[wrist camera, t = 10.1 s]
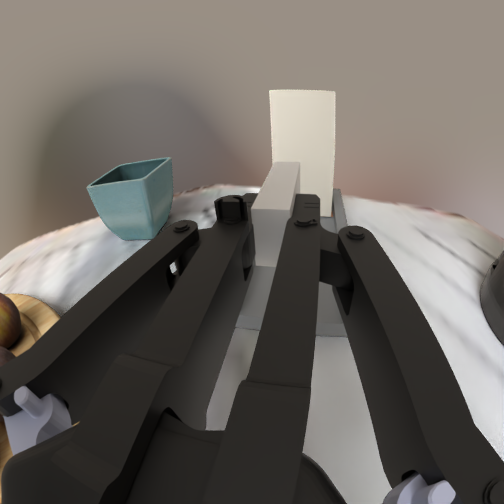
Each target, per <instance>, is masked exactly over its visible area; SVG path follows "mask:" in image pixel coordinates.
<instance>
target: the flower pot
mask: <svg viewBox="0 0 504 504" xmlns="http://www.w3.org/2000/svg"><path fill="white" fill-rule="evenodd" d="M87 190H88V192H89V194H90V197H91V199H92V201H93V203H94V205H95V208H96V209H97V212H98V214H99V216H100V218H101V219H102V221H103V222H104V224H105V225H106V226H107V227H108V228H109V229H110V230H111V231H112V232H113V233H114V234H116V235H117V236H118V237H120V238H121V239H123V240H136V239H153V238H155V236H156V235H157V234H158V232H159V231H160V229H161V228H162V227H163V225H164V224H165V223H166V221H167V219H168V216H169V213H170V209H171V205H172V199H173V176H172V159H171V157H169V158H160V159H153V160H147V161H139V162H134V163H127V164H122V165H119V166H117V167H115V168H114V169H112V170H111V171H109V172H107V173H106V174H104V175H103V176H102V177H100V178H99V179H97V180H96V181H94V182H93V183H91V184H90V185H88V186H87Z"/></svg>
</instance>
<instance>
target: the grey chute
mask: <svg viewBox="0 0 504 504" xmlns="http://www.w3.org/2000/svg"><path fill="white" fill-rule="evenodd" d="M320 223H321V226H322V227H323V228H324V229H326V230H328V231H330V232H333V233H336V234H338V232H339V230H340V229H341V228H343V227H346V226H347V220H346V215H345V210H344V206H343V201H342V196H341V192H340V189H333V196H332V209H331V217H326V216H320ZM275 269H276V267H269V266H256V262H255V257H254V260H253V275H252V278H251V281H250V284H249V287H248V290H247V293H246V296H245V299H244V302H243V305H242V308H241V311H240V314H239V317H238V320H237V323H236V326H235V327H238V328H246V329H255V330H260V329H261V325H262V321H263V317H264V313H265V309H266V305H267V301H268V297H269V294H270V290H271V286H272V281H273V277H274V273H275ZM316 335H321V336H337V337H348V336H347V333H346V330H345V327H344V324H343V321H342V318H341V315H340V312H339V309H338V306H337V303H336V300H335V297H334V294H333V291H332V285H329V284H326V283H323V282H319V294H318V310H317V325H316Z"/></svg>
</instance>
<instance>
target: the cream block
mask: <svg viewBox="0 0 504 504" xmlns="http://www.w3.org/2000/svg"><path fill="white" fill-rule="evenodd" d="M269 94H270V113H271V133H272V158H273V159H272V160H273V164H274V162H300V194H316V195H317V196H318V197H319V198H320V216H326V217H331V209H332V196H333V179H334V157H335V92H333V91H320V90H270V91H269Z"/></svg>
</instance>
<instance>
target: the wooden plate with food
mask: <svg viewBox="0 0 504 504" xmlns="http://www.w3.org/2000/svg"><path fill="white" fill-rule="evenodd" d="M60 318H61V317H60V316H59V315H58V314H57V312H56V311H54V310H53V309H52V308H51V307H50V306H48V305H47V304H45V303H44V302H42V301H40V300H38V299H36V298H33V297H30V296H27V295H23V294H2V293H0V367H1V366H3V365H4V364H6V363H7V362H9V361H11V360H12V359H14V358H15V357H17V356H18V355H20V354H22V353H23V352H25V351H26V350H28V349H29V348H30V347H31V346H32V345H33V344H34V343H35V342H36V341H37V340H38V339H39V338H40V337H41V336H42V335H43V334H44V333H45V332H46V331H47V330H49V329H50V328H51V327H52V326H53V325H54V324H55V323H56V322H57V321H58V320H59V319H60ZM79 422H80V421H79ZM79 422H78V423H79ZM78 423H76V424H78ZM76 424H75V425H76ZM73 426H74V425H73ZM12 456H13V453H12V450H11V446H10V442H9V438H8V434H7V430H6V425H5V420H4V417H3V415H2V414H0V504H1V475H2V471H3V468H4V466H5V464H6V462H7V461H8V460H9V459H10V458H11V457H12Z"/></svg>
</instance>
